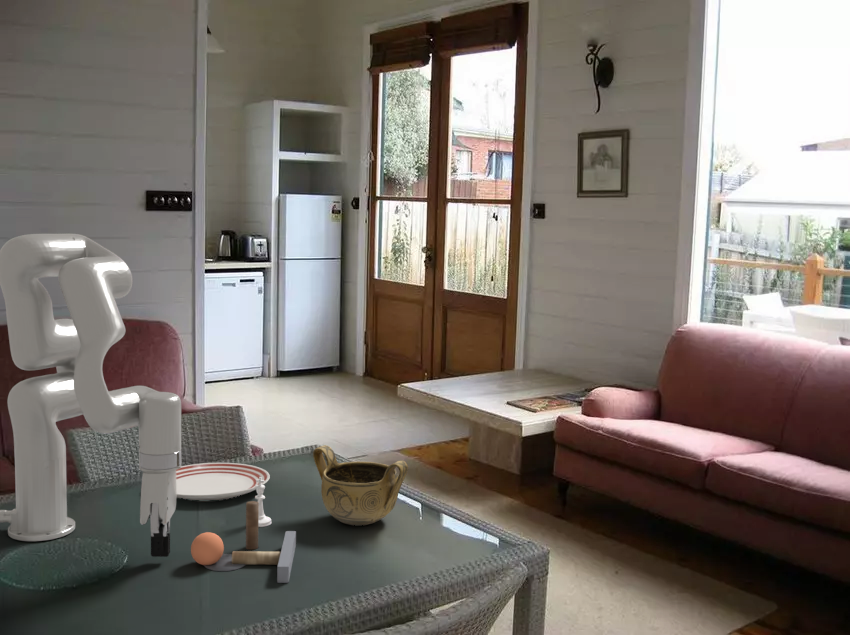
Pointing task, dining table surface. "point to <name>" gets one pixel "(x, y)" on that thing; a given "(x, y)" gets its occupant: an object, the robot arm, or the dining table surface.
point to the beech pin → (255, 557)
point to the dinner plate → (217, 480)
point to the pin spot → (224, 564)
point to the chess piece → (261, 504)
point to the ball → (207, 548)
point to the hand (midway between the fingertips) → (160, 554)
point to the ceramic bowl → (358, 487)
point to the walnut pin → (252, 524)
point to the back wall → (286, 557)
